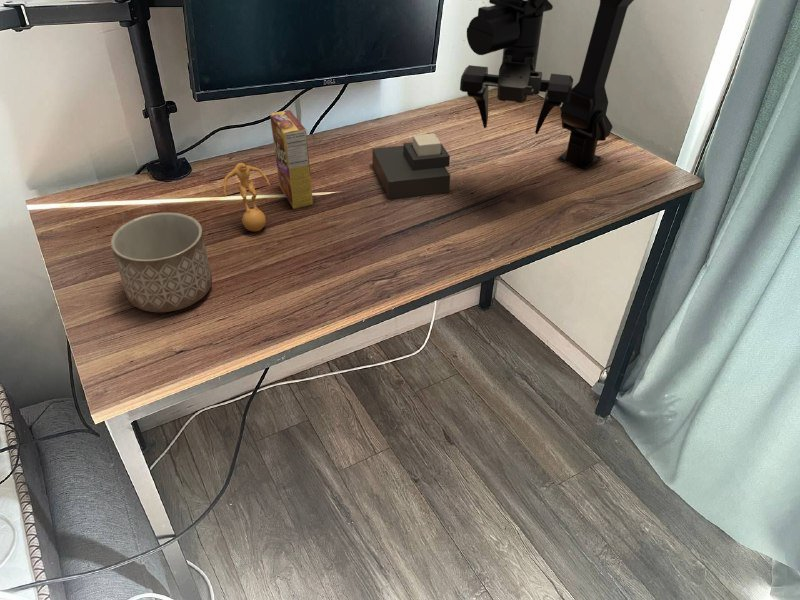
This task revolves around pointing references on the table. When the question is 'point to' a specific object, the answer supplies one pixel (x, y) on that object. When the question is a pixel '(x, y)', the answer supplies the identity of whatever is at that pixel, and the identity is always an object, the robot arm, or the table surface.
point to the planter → (162, 261)
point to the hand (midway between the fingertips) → (510, 130)
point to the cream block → (426, 145)
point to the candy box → (292, 158)
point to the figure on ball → (251, 217)
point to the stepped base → (411, 171)
